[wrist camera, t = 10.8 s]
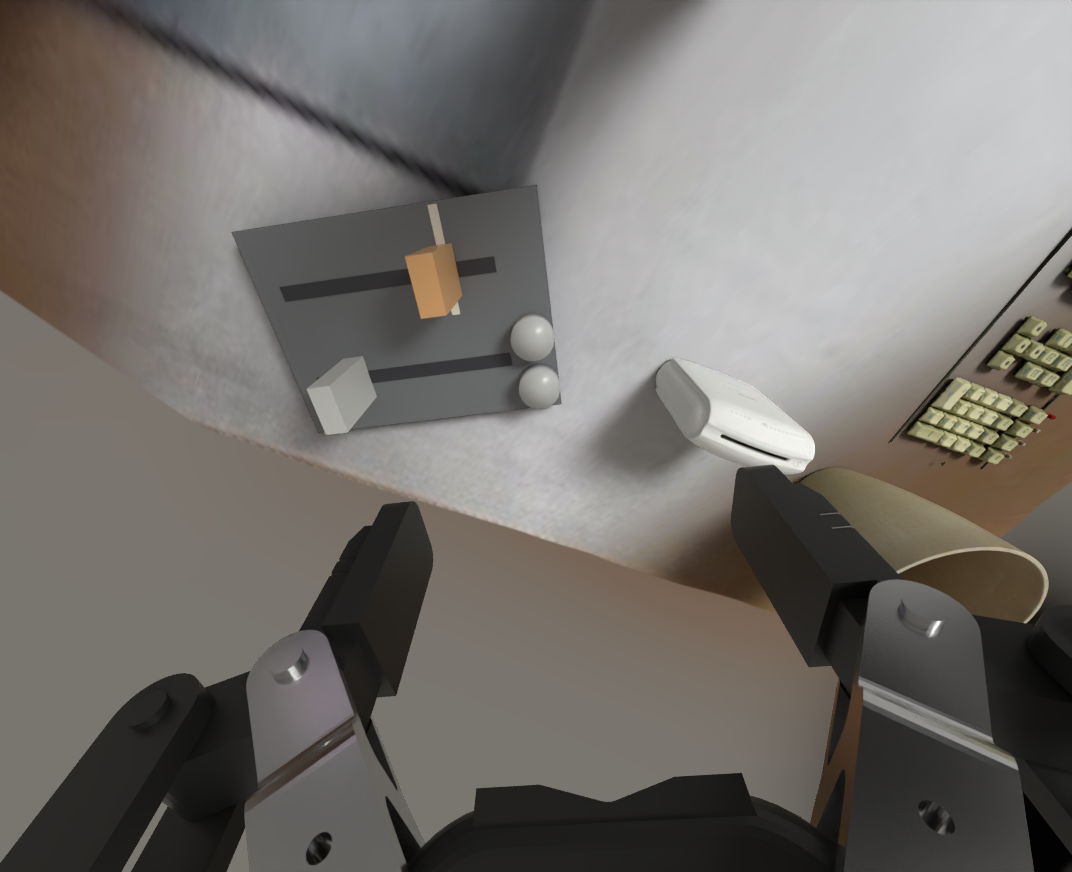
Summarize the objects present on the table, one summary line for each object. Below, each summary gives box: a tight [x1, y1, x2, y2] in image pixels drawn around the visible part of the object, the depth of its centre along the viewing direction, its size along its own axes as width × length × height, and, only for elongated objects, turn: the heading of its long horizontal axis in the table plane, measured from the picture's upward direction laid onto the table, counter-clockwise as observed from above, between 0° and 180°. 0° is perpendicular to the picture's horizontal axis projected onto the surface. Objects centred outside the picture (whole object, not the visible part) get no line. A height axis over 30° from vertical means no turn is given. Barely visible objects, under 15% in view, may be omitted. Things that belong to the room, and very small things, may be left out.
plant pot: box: [800, 468, 1048, 623], centre depth 41 cm, size 15×15×16 cm
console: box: [232, 185, 561, 435], centre depth 34 cm, size 18×24×9 cm
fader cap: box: [405, 243, 462, 319], centre depth 31 cm, size 4×2×7 cm, turn 8°
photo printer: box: [655, 358, 815, 474], centre depth 36 cm, size 10×4×12 cm, turn 69°
